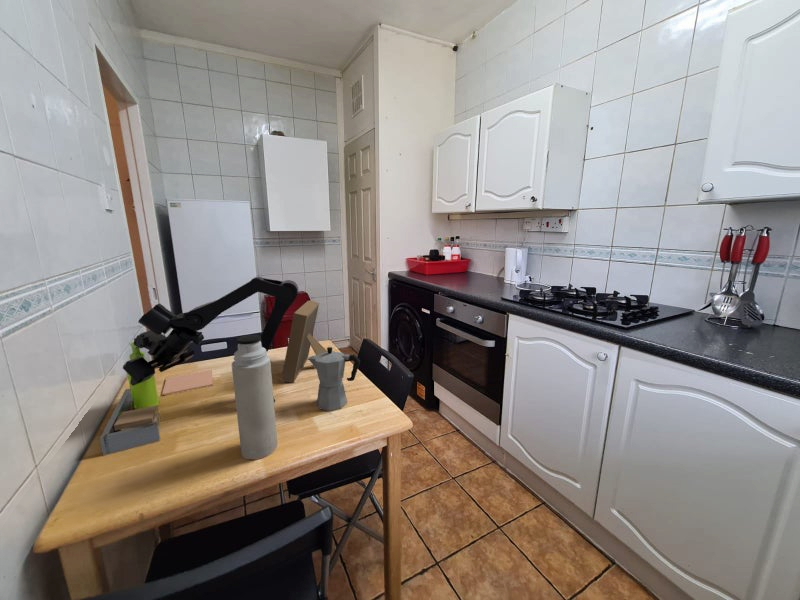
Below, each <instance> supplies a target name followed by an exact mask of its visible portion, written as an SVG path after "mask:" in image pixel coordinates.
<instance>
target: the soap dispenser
mask: <svg viewBox="0 0 800 600" xmlns="http://www.w3.org/2000/svg"><path fill="white" fill-rule="evenodd" d="M133 343H134V341H133V342H130V343H129V346H130V347H131V351H132V353H131V354H129V360H132V359H134V358H137V357H143V358H144V359H145V360H146V355H145V352H144V351H141V348H139V347H137V346H135V345H134V344H133ZM146 361H147V360H146ZM147 362H149V360H148V361H147ZM126 374H127V379H128V383H129V389H130V390H131V394H132V400H133V403H132V405H133V410H136V409H141V408H146V407H152V406H159V405H160V399H159V393H158V389H157V384H156V377H155V374H154V375H153V376H152V377H151V378H150V379H148V380H146V381H143V382H141V383H139V384H136V385H134V386H132V385H131V384H130V381H131V376H130V375H129V374H128V373H127V372H126Z"/></svg>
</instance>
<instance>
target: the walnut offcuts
mask: <svg viewBox="0 0 800 600" xmlns="http://www.w3.org/2000/svg"><path fill="white" fill-rule="evenodd" d="M158 406H159V405H157V406H152V407H146V408H141V409H136V410H135V409H132V410H131V409H130V410H129V411H126V412H122V414H121V415H120V417H119V418H118V420H117V421H116V423H115V424H114V430H115V431H116V430H119V431H123V430H127V429H131V428H136V427H140V426H144V425H148V424H153V423H157V422H158V427H160V422H161V417H162V416H161V412H158V411H159V408H158Z"/></svg>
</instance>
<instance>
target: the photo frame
mask: <svg viewBox="0 0 800 600" xmlns="http://www.w3.org/2000/svg"><path fill="white" fill-rule="evenodd" d="M319 305H320V302H316V301H313V300H307V301H306V302H305V303H303V304H302V305H301V306H300V307H299V308H298V309H297V310H296V311H295V312H293V317H292V322H291V328H290V332H289V338H288V342H287V347H286V353H285V356H284V357H285V358H284V363H283V369H282V372H281V378H280V381H282V382H286V383H287V382H288V383H292V384H294V383H295V381H296V380H297V378H298V376H299V374H300V373H301V372H302V369H303V368H304V366H305V364H306V363H307V361H309V360H308V358H309V355H310V354H309V353H310V349H312V350H313V352H314V355H319V354H321V353H325V352H328V351H327V348H325V347H324V346H323V345H322V344H321V343H320V342H319V341H318V340H317V339H316V338H315V337H314V336H313V335H314V330H315V325H316V322H317V315H318V311H319Z"/></svg>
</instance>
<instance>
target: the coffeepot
mask: <svg viewBox="0 0 800 600" xmlns="http://www.w3.org/2000/svg"><path fill="white" fill-rule="evenodd" d="M326 350H327V351H328V352H325V353H321V354H319V355H316V354H314V355H312V356H310V357H309V356H308V360H307V361H309V362H310V364H312V365H313V367H314V368H315V370H316V372H317V377H318V380H319V384H318V390H317V399H316V403H317V407H318V409H320V410H321V411H326V412H332V411H339V410H340V408H341V409H342V408H343V407H345V406H346V405H347V403H348V398H347V394H346V390H345V386H344V382H343V379H344V377H345V366H346V363H347V362H354V363H353V365H352V370H351V373H350V377H347V378H346V380H347V381H348V382H353V381H355V378H356V375H357V372H358V370H359V366H360V363H361V360H360V359H359V357H357V356H356V354H345V353H344V352H340V351H333V347H331V346H327V348H326Z"/></svg>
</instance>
